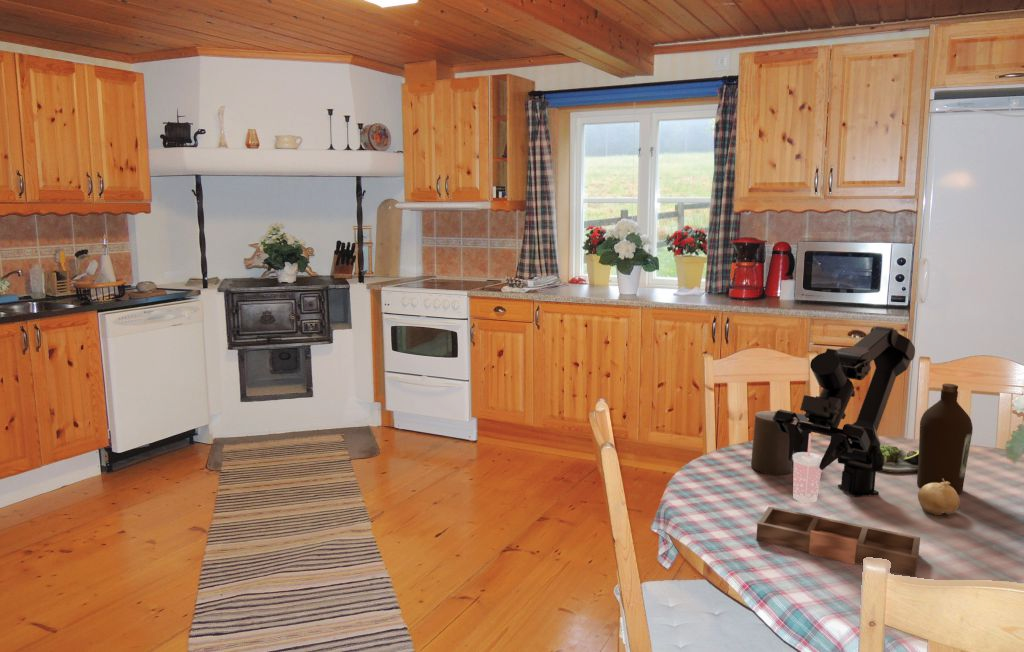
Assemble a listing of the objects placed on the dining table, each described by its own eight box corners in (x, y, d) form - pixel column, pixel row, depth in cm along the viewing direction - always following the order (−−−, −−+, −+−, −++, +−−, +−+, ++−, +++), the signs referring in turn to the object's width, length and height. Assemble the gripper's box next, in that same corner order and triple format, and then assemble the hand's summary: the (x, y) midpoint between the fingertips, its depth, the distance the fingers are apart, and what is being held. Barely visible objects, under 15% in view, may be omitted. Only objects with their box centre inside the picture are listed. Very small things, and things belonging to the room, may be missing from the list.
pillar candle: (764, 476, 186) (769, 417, 183) (743, 463, 195) (748, 406, 193) (799, 474, 188) (805, 415, 186) (777, 460, 198) (782, 404, 195)
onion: (957, 522, 161) (960, 490, 159) (914, 514, 165) (917, 482, 164) (959, 509, 167) (962, 479, 166) (918, 501, 171) (921, 471, 170)
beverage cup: (820, 495, 160) (826, 431, 157) (820, 506, 154) (826, 440, 151) (789, 490, 162) (794, 427, 159) (788, 501, 156) (793, 436, 154)
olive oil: (913, 491, 177) (923, 387, 173) (914, 477, 186) (924, 377, 182) (966, 500, 172) (978, 392, 168) (964, 485, 181) (976, 383, 177)
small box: (810, 464, 195) (813, 424, 194) (783, 462, 197) (786, 422, 195) (803, 450, 206) (805, 413, 204) (777, 449, 207) (780, 411, 205)
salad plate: (872, 478, 186) (874, 460, 185) (831, 454, 204) (832, 438, 203) (943, 475, 189) (945, 457, 188) (896, 451, 207) (898, 435, 206)
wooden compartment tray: (755, 541, 151) (756, 520, 150) (767, 522, 160) (769, 501, 159) (915, 578, 136) (917, 554, 136) (918, 554, 146) (920, 532, 145)
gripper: (779, 372, 163) (750, 433, 157) (868, 388, 150) (840, 456, 144) (794, 401, 170) (767, 460, 164) (881, 418, 156) (854, 484, 151)
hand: (805, 464), depth 156 cm, fingers closed on beverage cup, 6 cm apart
